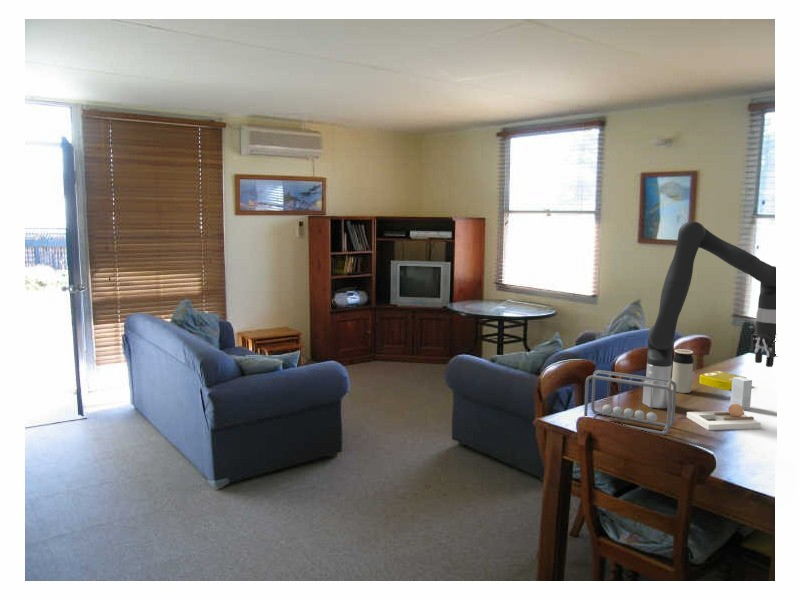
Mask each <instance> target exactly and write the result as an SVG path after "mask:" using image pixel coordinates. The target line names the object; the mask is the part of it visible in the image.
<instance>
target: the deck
mask: <svg viewBox="0 0 800 600" xmlns="http://www.w3.org/2000/svg"><path fill="white" fill-rule="evenodd" d="M686 418H687V419H689V420H690V421H693V422H694V423H696V424H697V425H699V426H701V427H702V428H704V429H706V430H707V431H716V430H717V431H719V430H720V431H722V430H723V431H724V430H743V429H744V430H745V429H752V428H753V429H760V428H761V422H759V421H757V420H756V419H754V416H748V415H746V414H745V412H743V415H742V416H740V417H733V416H731V415H730V414H729V411H728V410H713V411H711V410H709V411H687V412H686Z"/></svg>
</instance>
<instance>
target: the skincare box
mask: <svg viewBox="0 0 800 600" xmlns="http://www.w3.org/2000/svg"><path fill="white" fill-rule="evenodd" d="M743 377H744V376H743ZM743 377H733V378H732V390H731V391H730V392H731V393H730V404H729V406H730V405H732V404H739V405H740V406H742V408H743V410H744V411H746V410H750V409H751V398H752V388H753V386H752V385H753V380H752V379H749V378H747V377H746V378H747V379H746V378H743Z"/></svg>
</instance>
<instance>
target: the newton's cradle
mask: <svg viewBox="0 0 800 600" xmlns="http://www.w3.org/2000/svg"><path fill="white" fill-rule="evenodd" d="M597 374H601V376H600V375H597ZM602 375H608V377H607V376H602ZM610 376H617V377H620V378H615V377H614V378H613V377H610ZM622 377H623V378H629V380H628V379H622ZM591 379H592V383H591V384H592V385H591V386H592V388H591V407H590V409H591V412H592V413H593V414H594V415H593V416H592V417H593V418H595V417H596V415H597V413H598V414H604V415H607V416H606V417H608V416H611V417H610V418H614V417H615V418H616V419H621V420H626V421H631V422H636V423H643V424H647V425H648V424H649V425H653V426H659V427H664V428H663V430H662V431H660V430H657V429H650V428H645V427H639V426H634V425H628V424H624V423H622V424H623V425H626V426H629V427H633V428H637V429H640V430H644V431H643V432H645V431H647V432H646V433H650V432H651V434H655V435H656V434H657V435H661V436H666V435H667V434H669V432H670V431H671V429H670V428H671V427H673V426H674V423H675V413H676V401H677V400H676V398H677V392H676V388H677V386H676V383H675V382H674V381H672V379H671V380H666V379H659V378H652V377H646V375H645V376H643V375H636V374H629V373H622V372H615V371H608V370H604V369H603V370H601V369H597V370H594V372H593V373H592V375H589V376H587V377H586V379H585V389H584V390H585V393H584V412H583V413H584V414H583V417H585V416H588V408H589V407H588V406H589V389H590V385H589V384H590V380H591ZM633 379H636V380H641V381H635V380H633ZM597 380H598V381H599V380H600V381H607V383H606V384H607V389H606V390H607V395H606V396H607V397H606V398H607V400H606V403H607V404H604V405H603V406H602V409H601V410H602V412H601V411H598V410H597V411H596V409H595V403H596V402H595V400H596V399H595V398H596V382H597ZM646 380H649V381H653V382H654V381H656V382H663V383H668V384H669V383H671V384H670V385H673V390H671V387H670V388H669V387H667V386H668V384H667V385H666V386H663V385H656V384H649V383H644V381H646ZM612 382H614V383H618V384H620V388H619V390H621V386H622V384H625V385H626V384H627V385H630V388H632V386H639V387H641V388H643V386H646V387H651V407H650V412H647V413H645V412H644V411H643V410H641V407H642V406H641V405H642V401H639V403H638V404H639V409H637V410H635V411H634V410H633V409H632V408H630V406H631V401H628V407H627V408H625V409H623V408H622V406H620V403H617V406H614V407H612V405H611V404H609V403H610V401H609V400H610V397H609V394H611V393H610V392H611V390H610V389H611V387H609V384H611V383H612ZM652 387H653V393H654V388H659V389H666V390H667V391H668V393H669V394H668V407H667V408H666V409H667V410H666V411H667V412H666V423H663V422H658V421H657V420H658V416H657V413H655V412H653V401H652ZM631 395H632V391H629V398H631V397H632V396H631ZM620 398H621V393H618V400H620ZM640 398H643V391H640ZM595 413H596V414H595ZM612 413H613V414H612ZM615 418H614V419H615ZM645 418H646V419H645Z"/></svg>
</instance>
